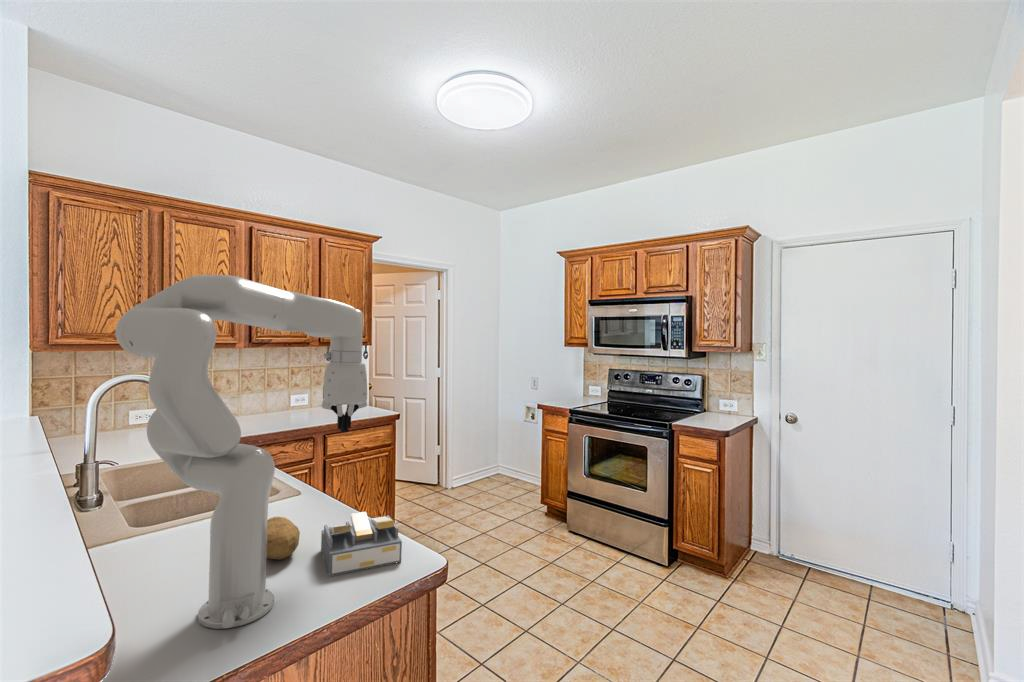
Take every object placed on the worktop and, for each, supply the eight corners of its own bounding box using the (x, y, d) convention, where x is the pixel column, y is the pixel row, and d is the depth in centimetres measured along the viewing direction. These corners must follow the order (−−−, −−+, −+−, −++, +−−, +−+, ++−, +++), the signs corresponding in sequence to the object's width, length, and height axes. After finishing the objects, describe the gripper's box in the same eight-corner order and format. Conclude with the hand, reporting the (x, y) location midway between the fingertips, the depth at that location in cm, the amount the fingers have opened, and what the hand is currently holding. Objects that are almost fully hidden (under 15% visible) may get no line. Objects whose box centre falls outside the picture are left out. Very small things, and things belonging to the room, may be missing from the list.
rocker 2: (371, 538, 113) (372, 533, 113) (356, 541, 112) (356, 536, 111) (365, 516, 120) (366, 511, 119) (350, 518, 118) (350, 513, 118)
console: (401, 562, 113) (402, 532, 113) (329, 577, 105) (330, 544, 105) (386, 539, 126) (387, 511, 125) (321, 550, 118) (321, 521, 118)
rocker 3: (393, 526, 115) (393, 520, 115) (378, 529, 113) (378, 522, 114) (385, 522, 122) (385, 516, 122) (371, 524, 120) (370, 518, 121)
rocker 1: (350, 531, 110) (350, 524, 111) (334, 533, 109) (333, 527, 109) (344, 530, 117) (344, 524, 117) (328, 533, 115) (328, 527, 116)
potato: (256, 574, 106) (257, 538, 106) (252, 548, 118) (253, 516, 118) (304, 564, 111) (305, 529, 111) (296, 541, 123) (297, 510, 123)
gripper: (315, 358, 113) (313, 436, 113) (379, 359, 120) (377, 432, 120) (312, 357, 119) (309, 430, 119) (373, 357, 126) (371, 426, 127)
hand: (343, 431), depth 120 cm, fingers closed
